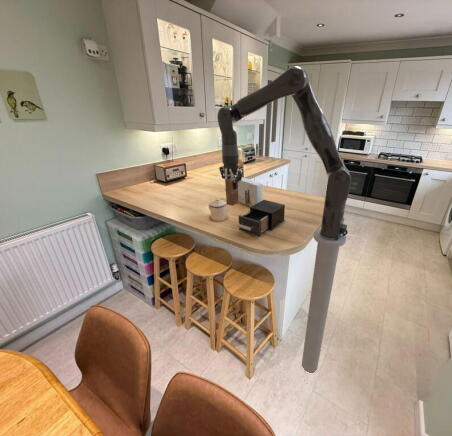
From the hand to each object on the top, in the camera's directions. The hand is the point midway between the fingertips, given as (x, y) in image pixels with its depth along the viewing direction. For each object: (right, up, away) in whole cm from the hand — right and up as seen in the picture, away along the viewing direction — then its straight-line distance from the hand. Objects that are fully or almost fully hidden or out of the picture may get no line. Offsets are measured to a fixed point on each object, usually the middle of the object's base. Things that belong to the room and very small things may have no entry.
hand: (231, 188), depth 117 cm
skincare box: (+7, -6, +34) cm, 35 cm away
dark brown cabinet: (+18, -17, +11) cm, 27 cm away
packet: (0, -8, +4) cm, 8 cm away
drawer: (+11, -21, +1) cm, 24 cm away
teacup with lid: (-10, -15, +16) cm, 24 cm away
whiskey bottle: (-3, +8, +62) cm, 63 cm away
